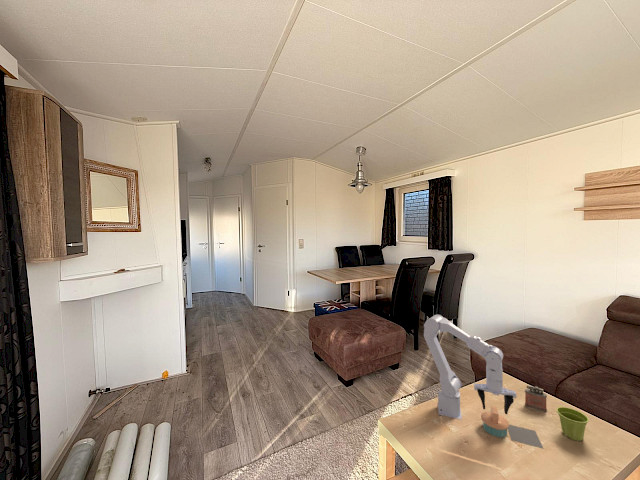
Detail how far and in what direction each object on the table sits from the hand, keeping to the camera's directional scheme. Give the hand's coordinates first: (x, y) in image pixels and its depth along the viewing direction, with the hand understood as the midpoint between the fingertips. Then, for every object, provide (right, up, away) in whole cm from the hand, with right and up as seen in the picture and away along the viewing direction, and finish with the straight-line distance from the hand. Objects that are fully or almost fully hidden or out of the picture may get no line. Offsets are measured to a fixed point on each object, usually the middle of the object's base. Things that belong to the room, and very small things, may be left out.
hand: (494, 410), depth 109 cm
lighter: (+29, -8, +14) cm, 33 cm away
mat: (+10, -9, -3) cm, 13 cm away
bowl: (0, -9, 0) cm, 9 cm away
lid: (0, -5, 0) cm, 5 cm away
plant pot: (+30, -9, -3) cm, 31 cm away
